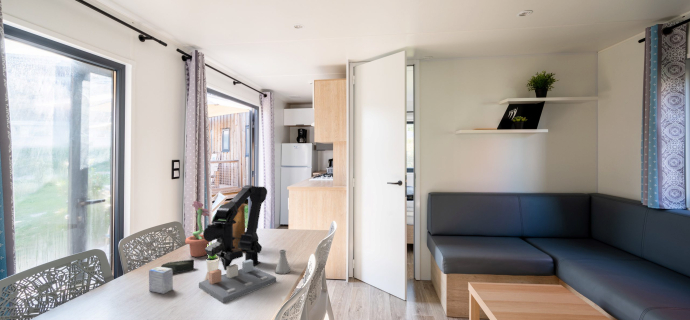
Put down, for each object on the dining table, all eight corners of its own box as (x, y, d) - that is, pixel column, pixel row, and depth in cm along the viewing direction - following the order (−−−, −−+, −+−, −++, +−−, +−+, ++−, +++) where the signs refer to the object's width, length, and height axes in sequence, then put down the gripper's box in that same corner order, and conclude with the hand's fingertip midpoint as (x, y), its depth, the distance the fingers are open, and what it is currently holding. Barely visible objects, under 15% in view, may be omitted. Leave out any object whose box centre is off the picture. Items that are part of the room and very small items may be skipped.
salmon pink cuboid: (209, 282, 119) (209, 271, 119) (218, 279, 122) (218, 268, 122) (211, 284, 118) (211, 273, 118) (221, 281, 121) (221, 270, 121)
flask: (286, 275, 133) (286, 253, 132) (272, 273, 134) (272, 252, 134) (292, 269, 140) (292, 248, 140) (278, 268, 141) (278, 247, 141)
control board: (198, 287, 120) (198, 281, 120) (250, 270, 138) (250, 264, 138) (222, 303, 107) (222, 296, 107) (276, 281, 125) (276, 275, 125)
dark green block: (193, 258, 141) (157, 263, 132) (194, 259, 139) (157, 265, 130) (193, 268, 141) (156, 274, 132) (194, 270, 139) (157, 276, 130)
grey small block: (242, 271, 131) (242, 261, 131) (250, 269, 134) (250, 259, 134) (245, 273, 129) (245, 263, 129) (253, 270, 132) (253, 260, 132)
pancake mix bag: (239, 255, 158) (239, 204, 158) (222, 248, 171) (222, 201, 171) (250, 252, 163) (250, 203, 163) (233, 245, 176) (233, 199, 176)
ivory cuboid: (226, 276, 125) (226, 266, 125) (235, 274, 128) (235, 263, 128) (229, 278, 123) (229, 267, 123) (238, 275, 127) (238, 265, 126)
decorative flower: (219, 253, 161) (219, 200, 161) (195, 261, 149) (195, 203, 149) (204, 249, 169) (204, 198, 169) (180, 256, 157) (179, 201, 157)
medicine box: (173, 289, 118) (173, 268, 118) (163, 294, 114) (163, 272, 114) (159, 286, 120) (158, 265, 120) (148, 291, 116) (148, 269, 116)
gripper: (198, 235, 129) (198, 270, 129) (218, 243, 117) (218, 281, 117) (222, 230, 137) (222, 263, 138) (243, 237, 125) (243, 273, 126)
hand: (226, 270), depth 129 cm, fingers closed
